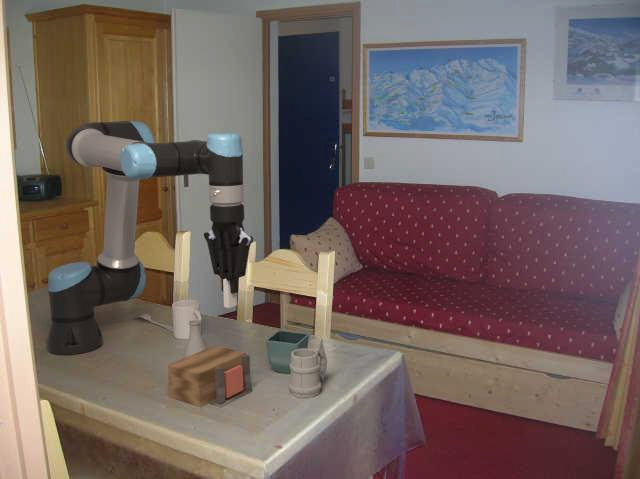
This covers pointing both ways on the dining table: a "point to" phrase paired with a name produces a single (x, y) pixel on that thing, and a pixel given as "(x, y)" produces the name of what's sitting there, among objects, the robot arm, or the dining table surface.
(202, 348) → the flask
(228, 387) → the block
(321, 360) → the mug
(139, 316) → the fork
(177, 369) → the block
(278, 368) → the flower pot
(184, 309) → the mug
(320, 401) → the dining table surface
